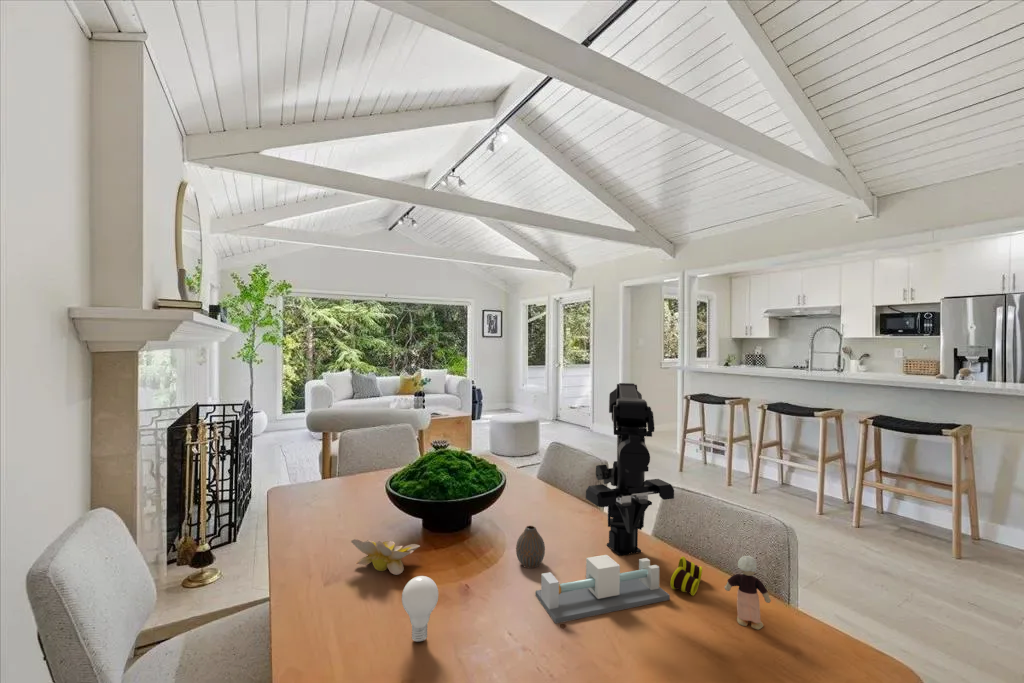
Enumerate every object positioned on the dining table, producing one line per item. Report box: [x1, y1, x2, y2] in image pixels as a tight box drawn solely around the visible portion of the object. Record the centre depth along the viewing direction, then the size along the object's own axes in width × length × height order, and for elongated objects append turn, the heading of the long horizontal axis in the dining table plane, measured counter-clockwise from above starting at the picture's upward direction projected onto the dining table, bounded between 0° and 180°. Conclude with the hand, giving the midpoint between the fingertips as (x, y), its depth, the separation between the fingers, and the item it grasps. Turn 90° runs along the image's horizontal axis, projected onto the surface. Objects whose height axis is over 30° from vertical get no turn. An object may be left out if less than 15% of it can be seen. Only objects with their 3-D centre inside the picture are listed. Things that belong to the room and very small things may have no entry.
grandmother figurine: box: [724, 555, 772, 630], centre depth 87 cm, size 8×4×13 cm, turn 71°
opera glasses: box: [669, 556, 703, 597], centre depth 100 cm, size 10×5×5 cm, turn 149°
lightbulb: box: [401, 575, 439, 643], centre depth 80 cm, size 6×6×11 cm
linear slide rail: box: [535, 557, 671, 624], centre depth 95 cm, size 26×10×6 cm, turn 109°
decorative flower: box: [350, 538, 421, 576], centre depth 106 cm, size 15×11×10 cm
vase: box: [515, 525, 546, 569], centre depth 109 cm, size 7×7×9 cm
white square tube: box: [585, 554, 621, 599], centre depth 95 cm, size 5×5×6 cm
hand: (629, 532), depth 97 cm, fingers closed
